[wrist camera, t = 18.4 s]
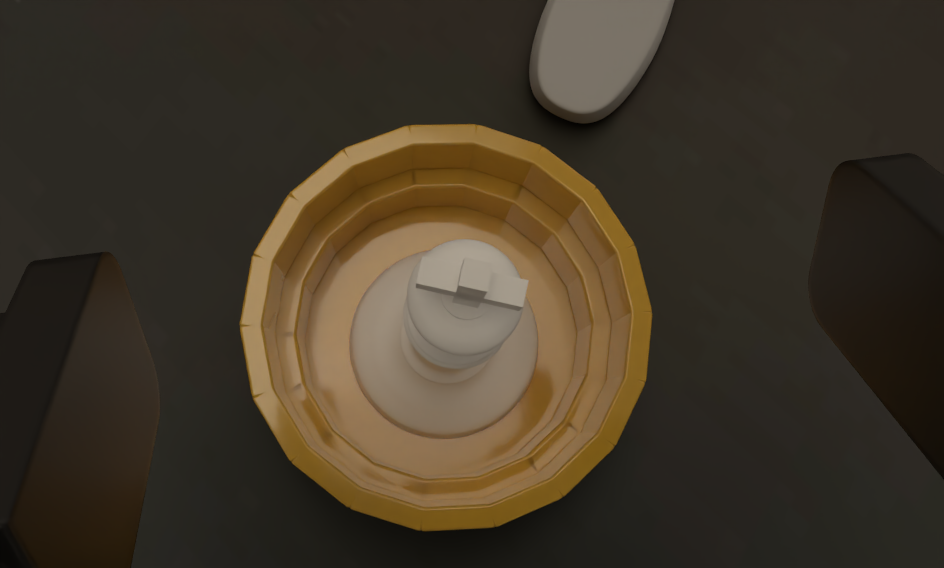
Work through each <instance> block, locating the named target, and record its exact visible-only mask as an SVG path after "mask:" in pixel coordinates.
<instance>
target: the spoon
mask: <svg viewBox="0 0 944 568" xmlns="http://www.w3.org/2000/svg"><path fill="white" fill-rule="evenodd" d="M674 1H675V0H548V1H547V3H546V6H545V8H544V11H543V13H542V16H541V19H540V21H539V24H538V27H537V31H536V34H535V37H534V42H533V46H532V51H531V57H530V66H529V79H530V85H531V89H532V92H533V94H534V96H535V98H536V99H537V101H538V102H539V103H540V104H541V105H542V106H543V107H544V108H545V109H546V110H548V111H549V112H551V113H553V114H554V115H556V116H558V117H561V118H563V119H565V120H568V121H571V122H575V123H592V122H596V121H598V120H601V119H603V118H604V117H606V116H608V115H609V114H610V113H612V112H613V111H614V110H615V109H616V108H617V107H618V106H619V105H620V104H621V103H622V102H623V101H624V100H625V99H626V98H627V97H628V95H629V94H630V93H631V92H632V90H633V89H634V88H635V86H636V85H637V84H638V82H639V81H640V79H641V78H642V76H643V75H644V73H645V71H646V70H647V68H648V66H649V64H650V63H651V61H652V59H653V57H654V55H655V53H656V51H657V49H658V46H659V44H660V42H661V40H662V37H663V35H664V32H665V29H666V26H667V23H668V20H669V17H670V14H671V11H672V7H673V4H674Z"/></svg>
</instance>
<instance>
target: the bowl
mask: <svg viewBox="0 0 944 568" xmlns="http://www.w3.org/2000/svg"><path fill="white" fill-rule="evenodd" d="M459 239H471V240H477V241H481V242H484V243H487V244H489V245H491V246H493V247H495V248H497V249H498V250H500V251H501V252H502V253H504V254H505V255H506V256H507V257H508V258H509V259H510V261H511V262H512V263H513V265H514V266H515V268H516V269H517V271H518V273H519V275H520V278H521V279H525V280H529V281H528V285H527V290H526V295H525V296H526V297H527V299H528V301H529V303H530V306H531V308H532V311H533V313H534V317H535V320H536V325H537V331H538V355H537V362H536V366H535V370H534V374H533V377H532V379H531V382H530V384H529V386H528V388H527V390H526V392H525V393H524V395H523V397H522V398H521V399H520V401H519V402H518V403H517V405H516V406H515V407H514V408H513V409H512V410H511V411H510V412H509V413H508V414H507V415H506V416H505V417H504V418H502V419H501V420H500V421H498V422H497V423H495V424H494V425H492V426H491V427H489V428H487V429H485V430H483V431H480V432H478V433H475V434H472V435H469V436H465V437H460V438H452V439H436V438H428V437H423V436H419V435H416V434H413V433H410V432H407V431H405V430H403V429H401V428H399V427H397V426H396V425H394V424H392V423H391V422H389V421H388V420H387V419H385V418H384V417H383V416H382V415H381V414H380V413H378V412H377V411H376V410H375V408H374V407H373V406H372V405H371V404H370V403H369V401H368V400H367V399H366V397H365V396H364V394H363V392H362V391H361V389H360V387H359V385H358V383H357V380H356V378H355V375H354V372H353V368H352V364H351V359H350V348H349V341H350V330H351V325H352V321H353V317H354V314H355V311H356V309H357V306H358V304H359V302H360V300H361V298H362V297H363V295H364V294H365V292H366V291H367V289H368V288H369V287H370V285H371V284H372V283H373V282H374V281H375V280H376V279H377V277H378V276H379V275H381V274H382V273H383V272H384V271H385V270H386V269H388V268H389V267H390V266H392V265H393V264H395V263H396V262H398V261H400V260H402V259H404V258H406V257H408V256H411V255H413V254H416V253H420V252H424V251H429V250H432V249H433V248H435V247H436V246H438V245H440V244H443V243H445V242H449V241H453V240H459ZM651 312H652V308H651V304H650V301H649V297H648V293H647V289H646V285H645V281H644V277H643V273H642V269H641V265H640V261H639V257H638V253H637V249H636V247H635V246H634V242H633V241H632V239H631V238H630V236H629V235H628V233H627V232H626V230H625V229H624V227H623V226H622V224H621V223H620V221H619V220H618V218H617V217H616V215H615V214H614V212H613V211H612V209H611V208H610V206H609V205H608V203H607V202H606V200H605V199H604V197H603V196H602V194H601V193H600V191H599V190H598V189H596V187H595V185H593V184H592V183H591V182H589V181H588V180H587V179H585V178H584V177H583V176H581V175H580V174H579V173H578V172H576V171H575V170H574V169H572V168H571V167H570V166H568V165H567V164H566V163H564V162H563V161H562V160H560V159H559V158H558V157H556V156H555V155H554V154H553V153H551V152H550V151H549V150H547V149H546V148H545V147H542V146H541V145H539V144H536V143H533V142H530V141H527V140H524V139H521V138H518V137H515V136H512V135H509V134H506V133H502V132H499V131H496V130H493V129H490V128H487V127H484V126H481V125H477V126H476V125H475V124H454V125H409V126H404V127H401V128H398V129H395V130H393V131H390V132H387V133H384V134H382V135H379V136H376V137H373V138H371V139H368V140H365V141H362V142H360V143H357V144H354V145H351V146H349V147H346V148H344V149H343V150H341V151H339V152H338V153H337V154H336V155H335V156H333V157H332V158H331V159H330V160H328V161H327V162H326V163H325V164H324V165H322V166H321V167H320V168H319V169H318V170H316V171H315V172H314V173H313V174H311V175H310V176H309V177H308V178H307V179H305V180H304V181H303V182H302V183H301V184H299V185H298V186H297V187H296V188H295V189H293V190H292V191H291V192H290V195H288V196H287V197H286V198H285V200H284V202H283V203H282V205H281V207H280V208H279V210H278V212H277V214H276V215H275V217H274V219H273V220H272V222H271V224H270V225H269V227H268V229H267V230H266V232H265V234H264V236H263V237H262V239H261V241H260V242H259V244H258V246H257V247H256V249H255V251H254V253H253V256H252V258H251V263H250V269H249V274H248V280H247V285H246V291H245V296H244V302H243V307H242V312H241V318H240V334H241V339H242V345H243V351H244V356H245V362H246V367H247V373H248V378H249V384H250V390H251V395H252V397H254V398H253V401H254V402H255V404H256V406H257V407H258V409H259V411H260V412H261V414H262V416H263V418H264V419H265V421H266V423H267V424H268V426H269V428H270V429H271V431H272V433H273V434H274V436H275V438H276V439H277V441H278V443H279V444H280V446H281V448H282V449H283V451H284V453H285V454H286V456H287V458H288V459H289V460H290V461H292V464H293V465H294V466H296V467H297V468H298V469H299V470H301V471H302V472H303V473H304V474H306V475H307V476H308V477H309V478H311V479H312V480H313V481H315V482H316V483H317V484H318V485H320V486H321V487H322V488H323V489H325V490H326V491H327V492H328V493H330V494H331V495H332V496H333V497H335V498H336V499H337V500H338V501H340V502H341V503H342V504H344V505H345V506H346V507H348V508H349V507H350V509H352V510H354V511H357V512H360V513H364V514H367V515H370V516H373V517H376V518H379V519H382V520H385V521H389V522H392V523H395V524H398V525H401V526H404V527H407V528H411V529H414V530H417V531H420V530H421V531H424V532H425V531H444V530H463V529H481V528H493V527H495V526H496V527H498V526H501V525H503V524H505V523H507V522H510V521H512V520H514V519H517V518H519V517H521V516H523V515H526V514H528V513H530V512H532V511H535V510H537V509H539V508H542V507H544V506H546V505H548V504H551V503H553V502H555V501H557V500H560V499H561V498H562V497H564V496H566V495H567V494H568V493H569V492H570V491H571V490H572V489H573V488H574V487H575V486H576V485H577V484H578V483H579V482H580V481H581V480H582V479H583V478H584V477H585V476H586V475H587V474H588V473H589V472H590V471H591V470H592V469H593V468H594V467H595V466H596V465H597V464H598V463H600V462H601V461H602V460H603V459H604V458H605V457H606V456H607V455H608V454H609V453H610V452H611V451H612V450H613V448H614V446H616V444H617V442H618V440H619V438H620V436H621V434H622V432H623V430H624V428H625V426H626V423H627V421H628V419H629V417H630V415H631V413H632V411H633V409H634V407H635V405H636V402H637V400H638V398H639V396H640V394H641V392H642V390H643V388H644V386H645V383H644V382H646V378H647V367H648V357H649V346H650V336H651V325H652V313H651Z"/></svg>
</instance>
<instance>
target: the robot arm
mask: <svg viewBox="0 0 944 568" xmlns="http://www.w3.org/2000/svg"><path fill="white" fill-rule="evenodd" d="M808 291H809V298H810V303H811V307H812V310H813V313H814V315H815V317H816V319H817V321H818V323H819V324H820V326H821V327H822V329H823V330H824V331H825V332H826V334H827V335H828V336H829V337H830V338H831V340H832V341H833V342H834V343H835V345H836V346H837V347H838V348H839V350H840V351H841V352H842V353H843V355H844V356H845V357H846V358H847V360H848V361H849V362H850V363H851V365H852V366H853V367H854V368H855V370H856V371H857V372H858V373H859V375H860V376H861V377H862V378H863V380H864V381H865V382H866V383H867V385H868V386H869V387H870V388H871V389H872V391H873V392H874V393H875V394H876V396H877V397H878V398H879V399H880V401H881V402H882V403H883V404H884V406H885V407H886V408H887V409H888V411H889V412H890V413H891V414H892V416H893V417H894V418H895V419H896V421H897V422H898V423H899V424H900V426H901V427H902V428H903V429H904V431H905V432H906V433H907V434H908V436H909V437H910V438H911V439H912V440H913V442H914V443H915V444H916V445H917V447H918V448H919V449H920V450H921V452H922V453H923V454H924V455H925V457H926V458H927V459H928V460H929V462H930V463H931V464H932V465H933V467H934V468H935V469H936V470H937V472H938V473H939V474H940V475H941V477H942V478H943V479H944V175H943V174H941V173H940V172H939V171H937V170H936V169H935V168H933V167H932V166H931V165H930V164H928V163H927V162H926V161H924V160H923V159H922V158H920V157H919V156H917V155H914V154H909V153H906V154H898V155H890V156H882V157H874V158H866V159H858V160H850V161H845V162H843V163H841V164H840V165H839V166H838V167H837V168H836V169H835V171H834V172H833V174H832V177H831V179H830V183H829V187H828V191H827V196H826V200H825V204H824V209H823V213H822V218H821V222H820V227H819V231H818V236H817V240H816V245H815V249H814V253H813V258H812V262H811V267H810V271H809V279H808ZM159 414H160V395H159V386H158V379H157V374H156V369H155V366H154V362H153V359H152V356H151V354H150V351H149V348H148V345H147V342H146V339H145V336H144V334H143V331H142V328H141V325H140V322H139V319H138V317H137V314H136V311H135V308H134V305H133V302H132V299H131V297H130V294H129V291H128V288H127V285H126V282H125V279H124V277H123V274H122V271H121V269H120V266H119V264H118V262H117V261H116V259H115V257H114V256H113V255H112V254H111V253H109V252H100V253H92V254H84V255H76V256H68V257H60V258H52V259H44V260H36V261H33V262H31V263H30V264H29V265H28V266H27V268H26V270H25V272H24V274H23V276H22V278H21V280H20V282H19V285H18V287H17V289H16V291H15V293H14V295H13V297H12V300H11V302H10V304H9V306H8V308H7V310H6V313H0V568H131V563H132V558H133V553H134V548H135V542H136V537H137V532H138V527H139V522H140V516H141V511H142V506H143V501H144V495H145V490H146V485H147V480H148V475H149V469H150V464H151V459H152V454H153V448H154V443H155V438H156V433H157V427H158V422H159Z"/></svg>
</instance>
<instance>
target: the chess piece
mask: <svg viewBox="0 0 944 568" xmlns="http://www.w3.org/2000/svg"><path fill="white" fill-rule="evenodd" d="M528 281H529V280H525V279H521V278H520V275H519V273H518V271H517V269H516V268H515V266H514V265H513V263H512V262H511V261H510V259H509V258H508V257H507V256H506V255H505V254H504V253H502V252H501V251H500V250H498V249H497V248H495V247H493V246H491V245H489V244H487V243H484V242H481V241H477V240H471V239H459V240H453V241H449V242H445V243H443V244H440V245H438V246H436V247H435V248H433V249H432V250H429V251H424V252H420V253H416V254H413V255H411V256H408V257H406V258H404V259H402V260H400V261H398V262H396V263H395V264H393V265H392V266H390V267H389V268H388V269H386V270H385V271H384V272H383V273H382V274H381V275H379V276H378V277H377V279H376V280H375V281H374V282H373V283H372V284H371V285H370V287H369V288H368V289H367V291H366V292H365V294H364V295H363V297H362V298H361V300H360V302H359V304H358V306H357V309H356V311H355V314H354V317H353V321H352V325H351V330H350V341H349V348H350V359H351V364H352V368H353V372H354V375H355V378H356V380H357V383H358V385H359V387H360V389H361V391H362V392H363V394H364V396H365V397H366V399H367V400H368V401H369V403H370V404H371V405H372V406H373V407H374V408H375V410H376V411H377V412H378V413H380V414H381V415H382V416H383V417H384V418H385V419H387V420H388V421H389V422H391V423H392V424H394V425H396V426H397V427H399V428H401V429H403V430H405V431H407V432H410V433H413V434H416V435H419V436H423V437H428V438H436V439H452V438H460V437H465V436H469V435H472V434H475V433H478V432H480V431H483V430H485V429H487V428H489V427H491V426H492V425H494V424H495V423H497V422H498V421H500V420H501V419H502V418H504V417H505V416H506V415H507V414H508V413H509V412H510V411H511V410H512V409H513V408H514V407H515V406H516V405H517V403H518V402H519V401H520V399H521V398H522V397H523V395H524V393H525V392H526V390H527V388H528V386H529V384H530V382H531V379H532V377H533V374H534V370H535V366H536V362H537V355H538V331H537V325H536V320H535V317H534V313H533V311H532V308H531V306H530V303H529V301H528V299H527V297H526V296H525V295H526V290H527V285H528Z"/></svg>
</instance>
